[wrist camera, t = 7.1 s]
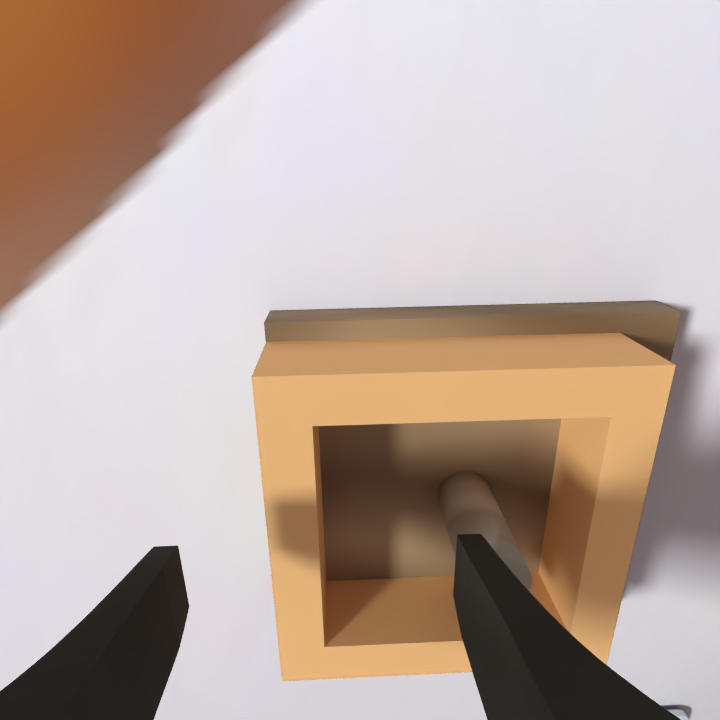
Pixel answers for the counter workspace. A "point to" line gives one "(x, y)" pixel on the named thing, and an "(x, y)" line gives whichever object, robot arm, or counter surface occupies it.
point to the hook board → (448, 445)
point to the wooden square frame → (454, 404)
